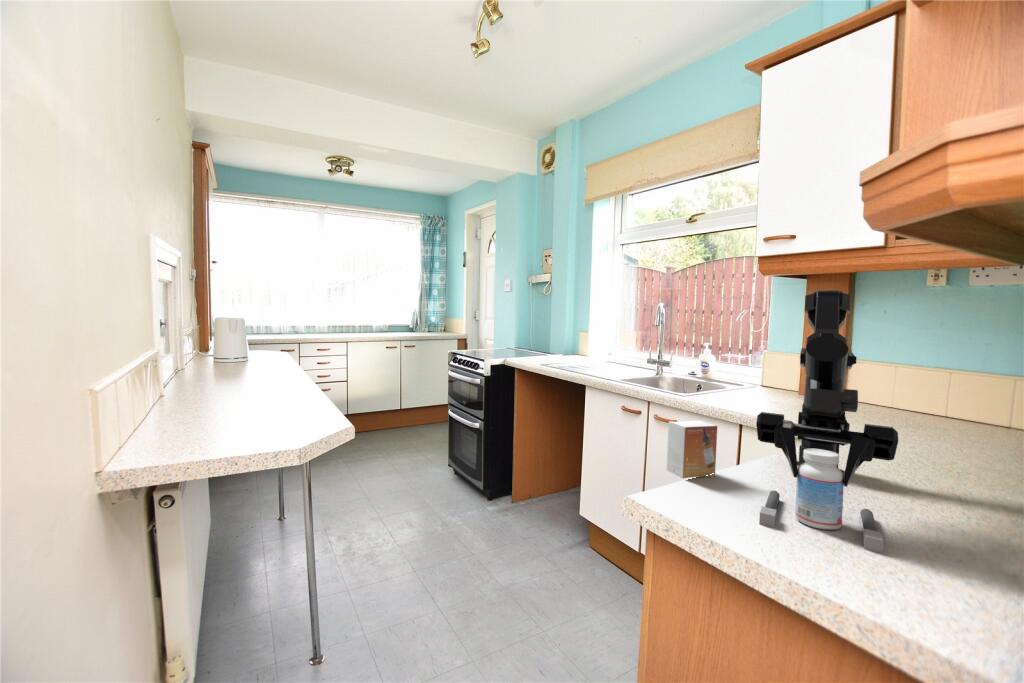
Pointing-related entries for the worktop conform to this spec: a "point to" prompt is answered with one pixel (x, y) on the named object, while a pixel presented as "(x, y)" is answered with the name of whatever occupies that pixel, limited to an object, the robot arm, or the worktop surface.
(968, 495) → the worktop surface
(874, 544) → the grey block-headed part
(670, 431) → the small box
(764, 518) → the grey block-tipped rod
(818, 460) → the pill bottle
